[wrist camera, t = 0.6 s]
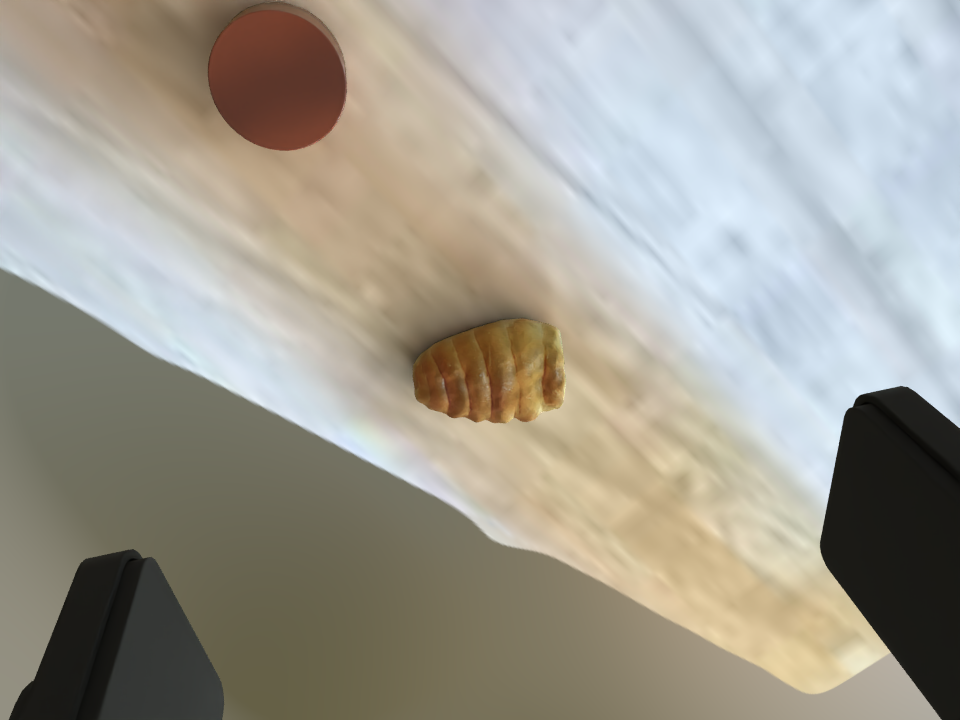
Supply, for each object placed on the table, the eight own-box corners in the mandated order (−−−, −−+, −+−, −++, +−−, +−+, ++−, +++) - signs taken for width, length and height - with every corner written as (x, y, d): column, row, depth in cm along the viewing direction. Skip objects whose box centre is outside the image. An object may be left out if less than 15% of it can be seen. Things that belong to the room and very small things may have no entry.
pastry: (416, 415, 47) (423, 452, 44) (405, 325, 43) (411, 358, 40) (556, 395, 48) (572, 429, 45) (557, 305, 44) (574, 336, 41)
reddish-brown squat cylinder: (194, 23, 33) (182, 33, 30) (319, -15, 33) (318, -9, 31) (248, 148, 36) (242, 166, 34) (362, 114, 36) (364, 129, 34)
